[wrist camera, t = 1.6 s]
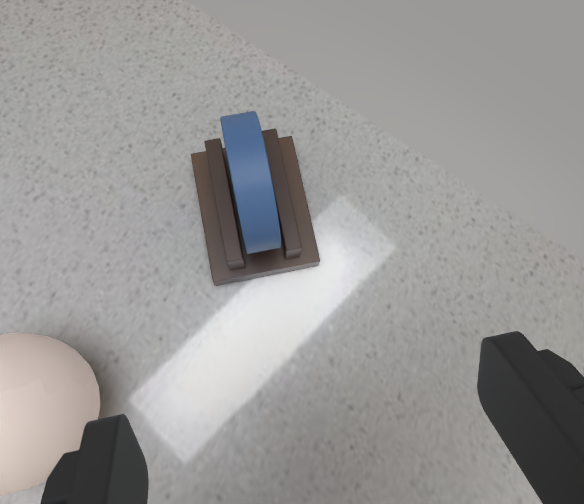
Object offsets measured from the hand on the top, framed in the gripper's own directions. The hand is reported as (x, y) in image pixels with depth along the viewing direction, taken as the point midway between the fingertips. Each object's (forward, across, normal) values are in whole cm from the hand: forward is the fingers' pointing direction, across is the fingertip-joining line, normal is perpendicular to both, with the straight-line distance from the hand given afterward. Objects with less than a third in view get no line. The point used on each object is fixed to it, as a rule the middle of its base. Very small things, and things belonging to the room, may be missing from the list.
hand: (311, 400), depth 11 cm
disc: (+20, 0, +3) cm, 20 cm away
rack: (+24, 0, +7) cm, 25 cm away
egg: (+17, +14, +14) cm, 26 cm away
